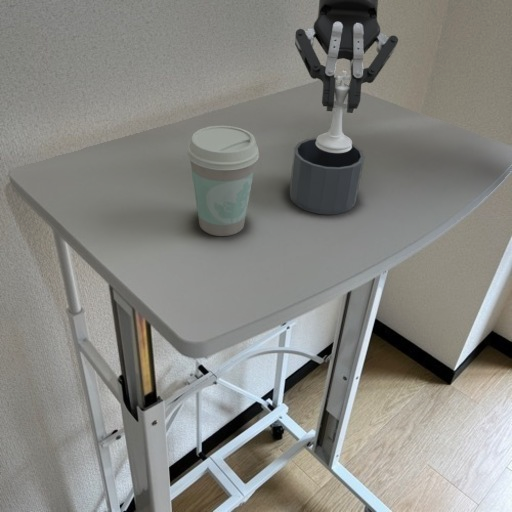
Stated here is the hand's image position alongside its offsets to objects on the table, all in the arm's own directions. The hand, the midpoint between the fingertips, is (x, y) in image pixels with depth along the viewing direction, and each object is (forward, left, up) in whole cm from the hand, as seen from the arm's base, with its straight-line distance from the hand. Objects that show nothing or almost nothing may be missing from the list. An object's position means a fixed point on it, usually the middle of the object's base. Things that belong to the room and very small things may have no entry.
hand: (340, 109), depth 69 cm
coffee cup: (+14, +6, -14) cm, 21 cm away
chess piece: (0, -2, -6) cm, 6 cm away
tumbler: (0, -2, -14) cm, 14 cm away
